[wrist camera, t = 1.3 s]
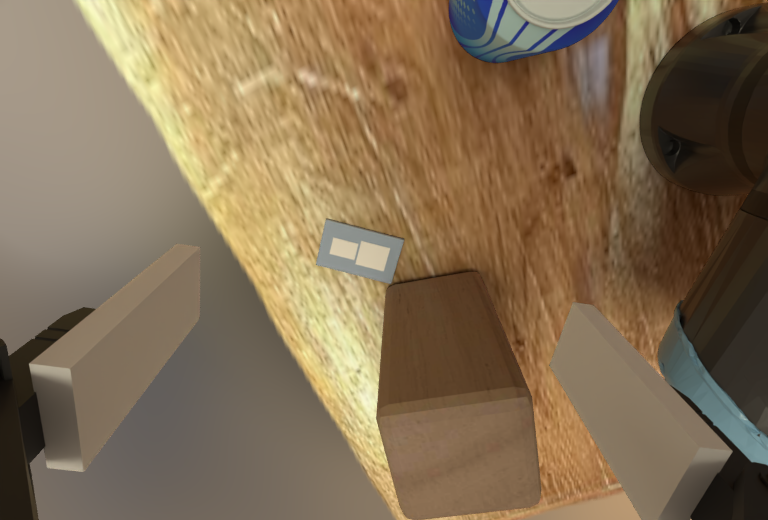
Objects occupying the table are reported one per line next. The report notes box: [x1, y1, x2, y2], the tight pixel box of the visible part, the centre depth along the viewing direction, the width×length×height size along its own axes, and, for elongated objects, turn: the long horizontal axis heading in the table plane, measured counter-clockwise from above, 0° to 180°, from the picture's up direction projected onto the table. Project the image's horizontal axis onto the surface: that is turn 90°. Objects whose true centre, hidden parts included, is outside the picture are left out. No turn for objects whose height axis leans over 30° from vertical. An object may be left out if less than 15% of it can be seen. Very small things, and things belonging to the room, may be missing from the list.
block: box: [376, 272, 541, 520], centre depth 38 cm, size 10×10×20 cm
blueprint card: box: [316, 219, 404, 284], centre depth 44 cm, size 8×5×1 cm, turn 75°
